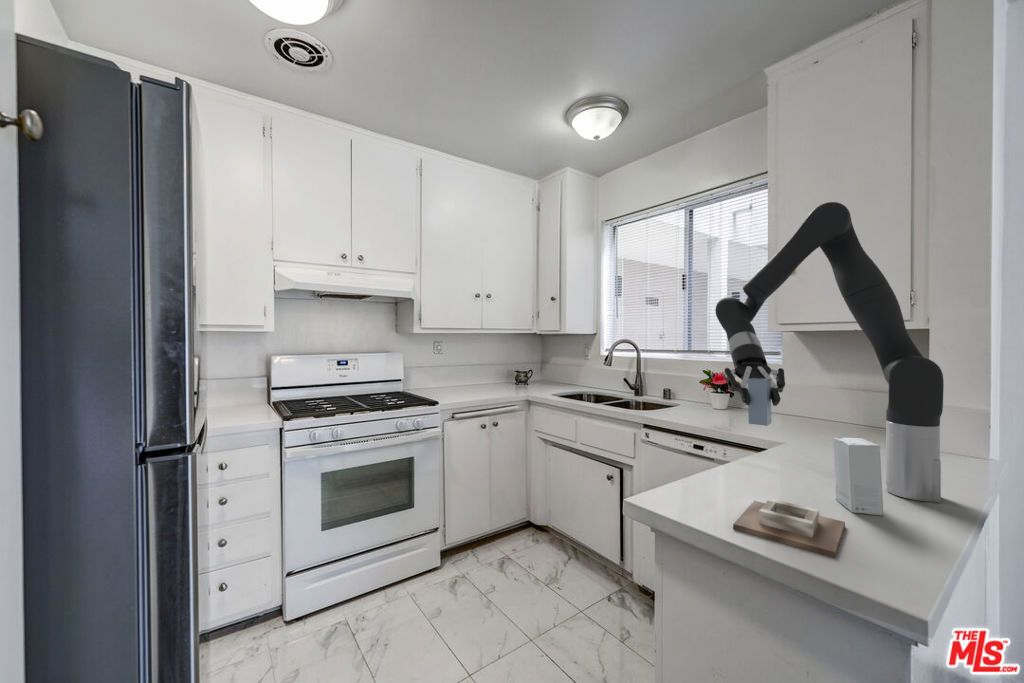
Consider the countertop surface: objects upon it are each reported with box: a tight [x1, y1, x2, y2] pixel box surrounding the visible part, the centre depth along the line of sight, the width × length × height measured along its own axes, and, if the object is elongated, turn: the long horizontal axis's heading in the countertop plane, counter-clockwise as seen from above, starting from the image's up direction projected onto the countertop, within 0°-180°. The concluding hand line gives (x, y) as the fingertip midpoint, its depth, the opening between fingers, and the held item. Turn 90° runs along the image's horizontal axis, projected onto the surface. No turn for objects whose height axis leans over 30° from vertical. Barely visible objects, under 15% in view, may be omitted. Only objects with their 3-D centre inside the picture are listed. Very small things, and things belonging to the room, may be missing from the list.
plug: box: [747, 378, 772, 427], centre depth 102 cm, size 4×4×11 cm
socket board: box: [732, 498, 846, 558], centre depth 82 cm, size 16×16×4 cm
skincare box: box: [833, 437, 884, 517], centre depth 92 cm, size 8×6×15 cm
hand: (762, 403), depth 100 cm, fingers closed on plug, 5 cm apart
